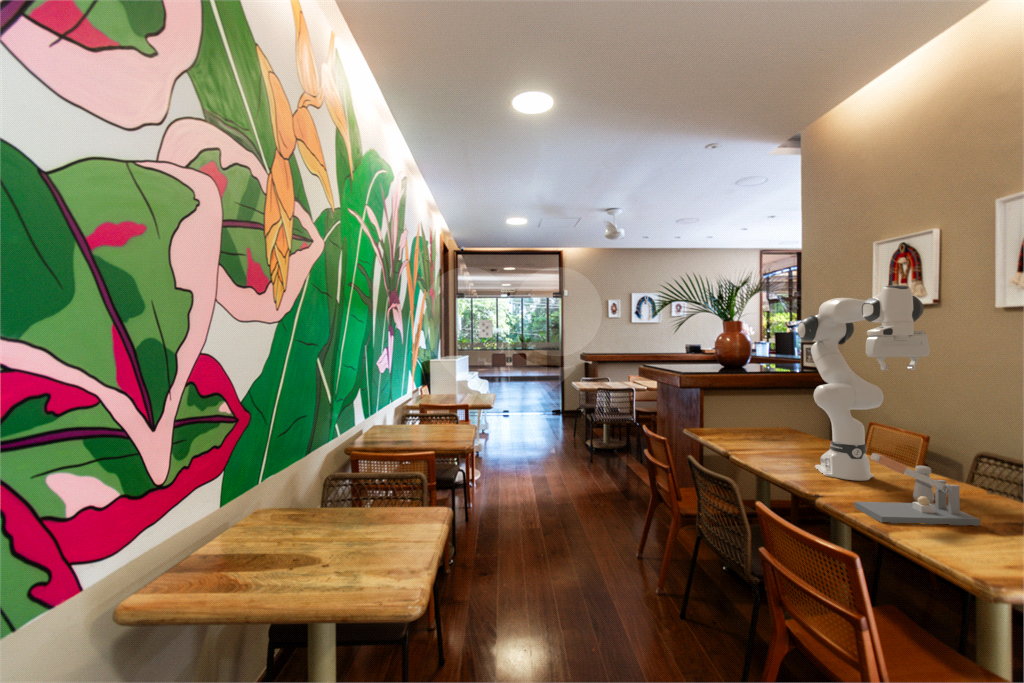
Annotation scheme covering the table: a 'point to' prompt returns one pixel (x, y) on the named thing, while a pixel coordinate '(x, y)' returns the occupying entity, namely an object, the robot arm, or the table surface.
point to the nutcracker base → (913, 514)
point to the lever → (909, 472)
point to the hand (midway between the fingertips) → (898, 369)
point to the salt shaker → (920, 489)
